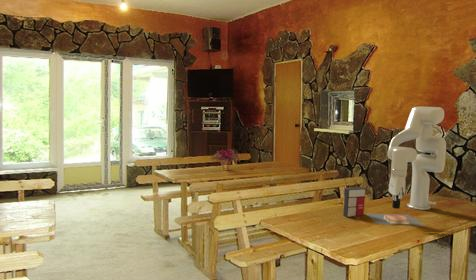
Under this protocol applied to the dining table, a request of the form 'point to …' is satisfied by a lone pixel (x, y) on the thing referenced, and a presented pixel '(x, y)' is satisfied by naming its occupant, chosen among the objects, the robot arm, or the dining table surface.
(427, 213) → the dining table surface
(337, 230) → the dining table surface
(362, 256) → the dining table surface
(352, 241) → the dining table surface
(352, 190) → the grey and red box
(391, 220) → the tile
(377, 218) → the mat
